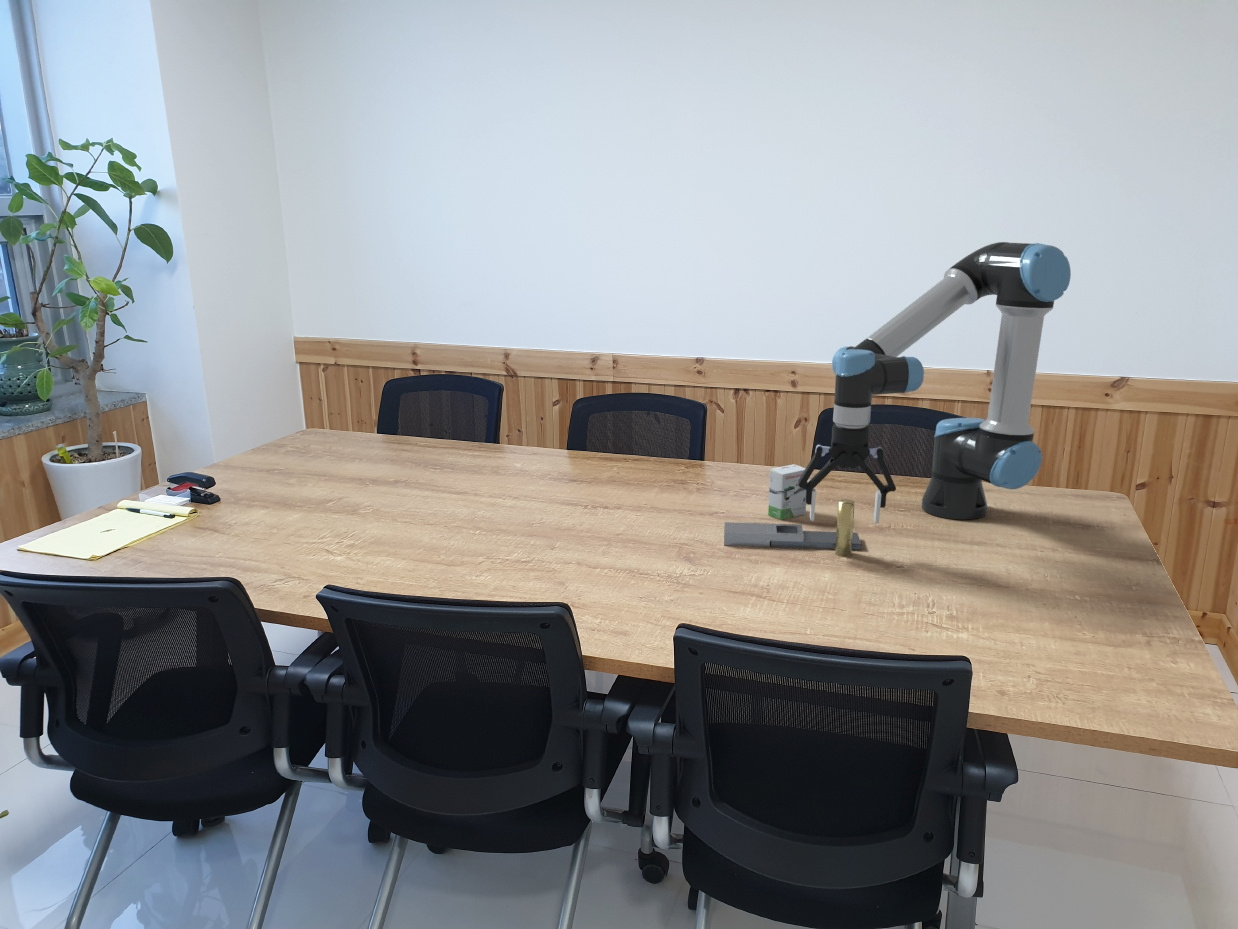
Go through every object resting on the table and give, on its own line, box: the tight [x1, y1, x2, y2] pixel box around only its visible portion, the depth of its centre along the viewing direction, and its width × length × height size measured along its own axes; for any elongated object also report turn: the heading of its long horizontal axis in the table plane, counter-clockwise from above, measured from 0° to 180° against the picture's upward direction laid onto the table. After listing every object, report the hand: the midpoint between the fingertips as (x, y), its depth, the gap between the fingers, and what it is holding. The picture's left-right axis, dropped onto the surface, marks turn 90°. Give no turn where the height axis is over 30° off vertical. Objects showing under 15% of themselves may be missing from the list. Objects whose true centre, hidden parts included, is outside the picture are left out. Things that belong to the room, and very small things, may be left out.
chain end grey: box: [723, 521, 804, 548], centre depth 206 cm, size 18×7×3 cm, turn 82°
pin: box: [834, 498, 855, 558], centre depth 197 cm, size 3×3×12 cm
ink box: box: [767, 463, 807, 521], centre depth 222 cm, size 9×5×12 cm, turn 123°
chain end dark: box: [770, 530, 862, 551], centre depth 205 cm, size 20×7×2 cm, turn 82°
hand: (843, 520), depth 196 cm, fingers open, 13 cm apart
